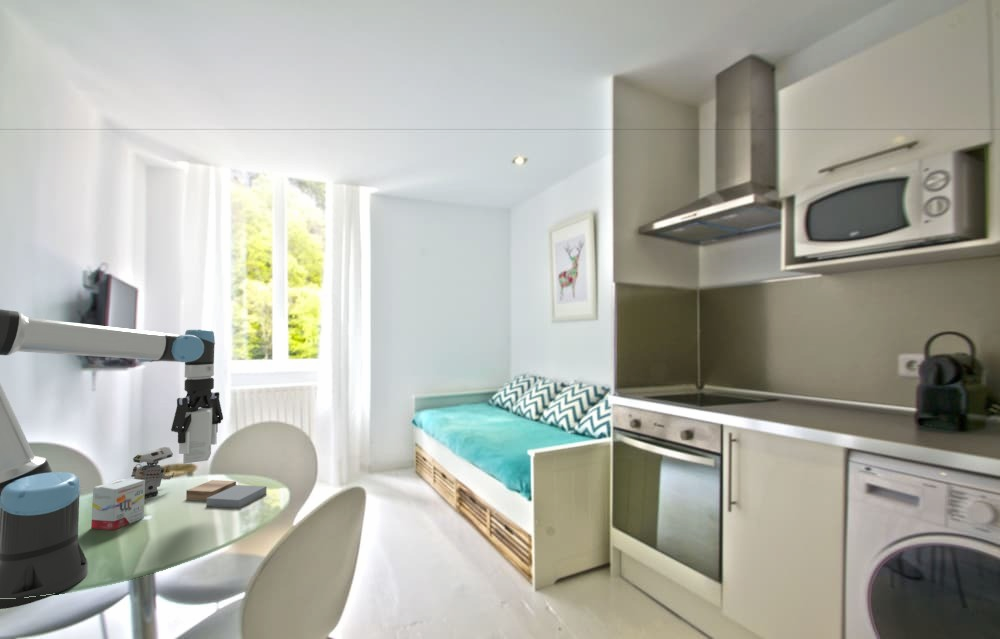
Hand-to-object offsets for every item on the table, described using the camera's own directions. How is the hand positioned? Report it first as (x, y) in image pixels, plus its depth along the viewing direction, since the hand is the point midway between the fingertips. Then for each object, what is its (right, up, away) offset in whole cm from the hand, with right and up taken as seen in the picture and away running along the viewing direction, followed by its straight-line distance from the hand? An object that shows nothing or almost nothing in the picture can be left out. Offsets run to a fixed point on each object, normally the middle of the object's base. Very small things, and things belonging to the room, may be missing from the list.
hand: (198, 448), depth 127 cm
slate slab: (+7, -20, +9) cm, 23 cm away
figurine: (-28, -21, +16) cm, 39 cm away
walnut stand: (-6, -20, +14) cm, 25 cm away
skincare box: (0, -3, 0) cm, 3 cm away
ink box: (-18, -20, -8) cm, 28 cm away
